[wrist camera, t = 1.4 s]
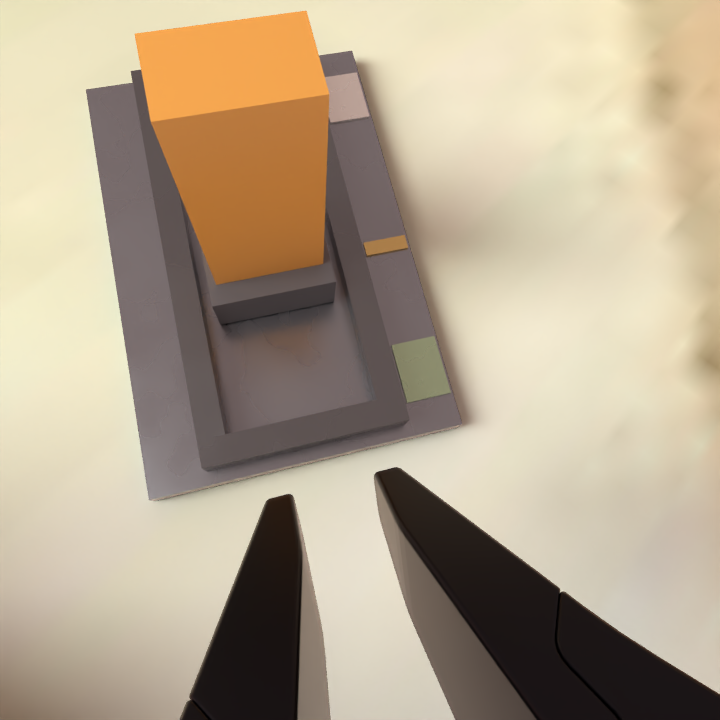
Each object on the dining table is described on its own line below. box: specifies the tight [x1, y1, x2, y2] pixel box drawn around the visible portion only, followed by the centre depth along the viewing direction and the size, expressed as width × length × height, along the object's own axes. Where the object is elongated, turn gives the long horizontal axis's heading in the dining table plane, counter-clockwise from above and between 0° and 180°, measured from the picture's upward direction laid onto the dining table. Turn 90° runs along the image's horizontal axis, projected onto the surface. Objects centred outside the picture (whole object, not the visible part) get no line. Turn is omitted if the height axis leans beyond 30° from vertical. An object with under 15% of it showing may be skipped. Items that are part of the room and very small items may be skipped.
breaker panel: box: [86, 51, 462, 501], centre depth 24 cm, size 18×12×2 cm, turn 14°
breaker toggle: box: [135, 11, 336, 325], centre depth 19 cm, size 4×5×11 cm
